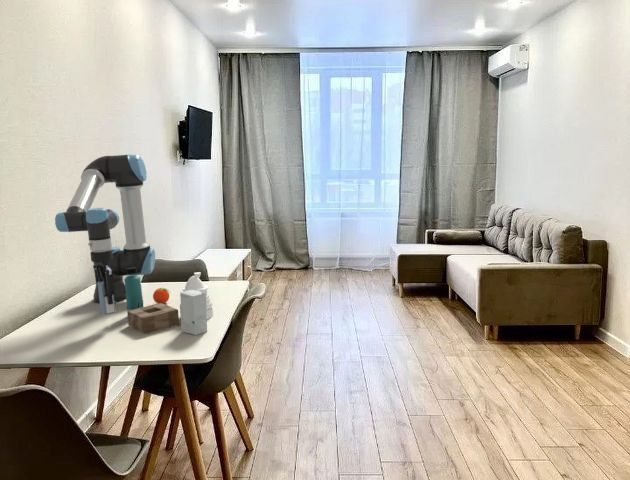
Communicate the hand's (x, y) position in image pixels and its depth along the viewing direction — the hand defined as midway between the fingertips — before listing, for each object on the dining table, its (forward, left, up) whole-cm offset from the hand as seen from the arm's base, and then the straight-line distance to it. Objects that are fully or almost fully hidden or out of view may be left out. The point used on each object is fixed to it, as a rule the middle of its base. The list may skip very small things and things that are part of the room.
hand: (108, 310), depth 212 cm
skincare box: (+27, +21, -8) cm, 35 cm away
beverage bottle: (-10, +15, -8) cm, 19 cm away
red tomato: (-18, +31, -8) cm, 36 cm away
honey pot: (+11, +31, -8) cm, 34 cm away
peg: (0, 0, -1) cm, 1 cm away
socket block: (+8, +14, -7) cm, 18 cm away
